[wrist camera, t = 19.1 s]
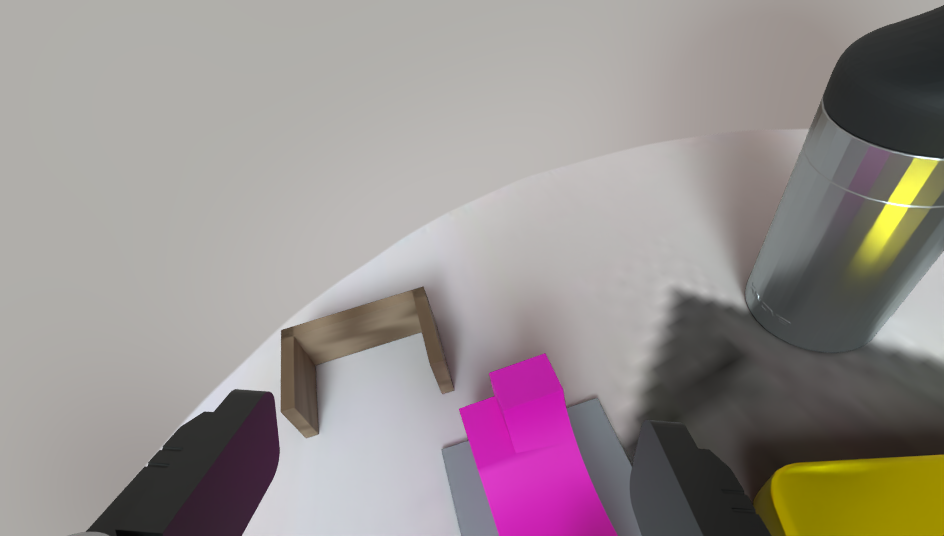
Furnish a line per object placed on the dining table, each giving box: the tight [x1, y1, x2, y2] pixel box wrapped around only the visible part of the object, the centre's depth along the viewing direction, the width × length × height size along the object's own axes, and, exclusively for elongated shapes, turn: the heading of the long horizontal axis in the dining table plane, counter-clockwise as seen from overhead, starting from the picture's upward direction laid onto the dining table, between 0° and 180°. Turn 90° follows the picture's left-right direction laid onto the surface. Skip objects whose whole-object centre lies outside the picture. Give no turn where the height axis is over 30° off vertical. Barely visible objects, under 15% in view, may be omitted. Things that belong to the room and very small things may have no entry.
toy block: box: [459, 353, 618, 536], centre depth 28 cm, size 15×6×8 cm, turn 17°
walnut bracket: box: [281, 287, 454, 438], centre depth 39 cm, size 12×8×4 cm, turn 105°
